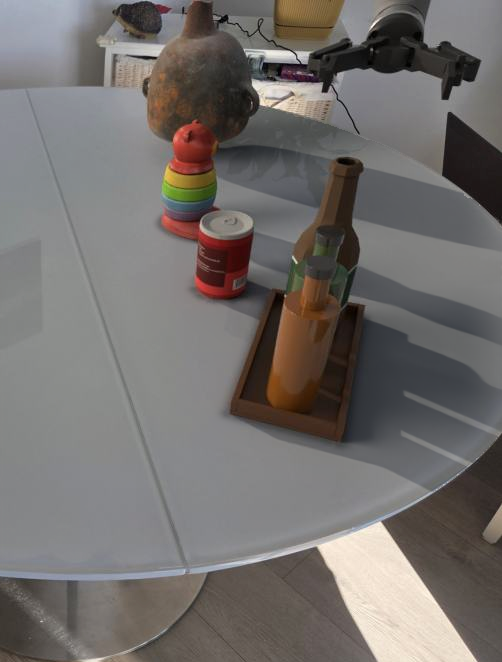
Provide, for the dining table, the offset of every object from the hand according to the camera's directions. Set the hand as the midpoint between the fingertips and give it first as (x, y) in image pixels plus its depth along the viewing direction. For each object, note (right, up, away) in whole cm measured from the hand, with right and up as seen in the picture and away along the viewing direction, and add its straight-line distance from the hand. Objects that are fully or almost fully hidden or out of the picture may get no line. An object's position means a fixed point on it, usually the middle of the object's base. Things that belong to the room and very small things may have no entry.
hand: (385, 85), depth 78 cm
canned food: (-15, -23, +20) cm, 34 cm away
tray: (-8, -34, +5) cm, 36 cm away
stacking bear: (-16, -10, +36) cm, 41 cm away
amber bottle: (-12, -38, -1) cm, 40 cm away
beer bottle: (-5, -30, +10) cm, 32 cm away
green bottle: (-9, -34, +4) cm, 36 cm away
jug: (-9, +11, +62) cm, 64 cm away
